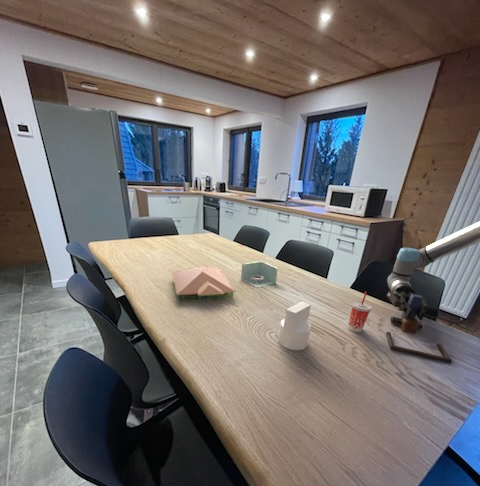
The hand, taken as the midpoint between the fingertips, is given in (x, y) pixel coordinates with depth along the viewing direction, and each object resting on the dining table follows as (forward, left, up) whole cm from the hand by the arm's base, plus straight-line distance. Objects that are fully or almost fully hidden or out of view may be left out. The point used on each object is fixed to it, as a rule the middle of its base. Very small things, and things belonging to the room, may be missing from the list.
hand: (415, 315), depth 89 cm
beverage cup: (+18, +6, -7) cm, 20 cm away
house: (+81, -1, -7) cm, 81 cm away
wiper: (0, -5, -7) cm, 8 cm away
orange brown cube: (0, -2, -7) cm, 7 cm away
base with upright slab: (+37, +24, -7) cm, 44 cm away
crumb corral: (0, +9, -7) cm, 12 cm away
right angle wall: (+61, -22, -7) cm, 65 cm away
